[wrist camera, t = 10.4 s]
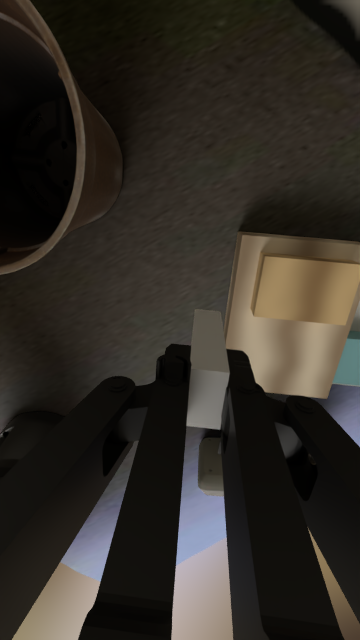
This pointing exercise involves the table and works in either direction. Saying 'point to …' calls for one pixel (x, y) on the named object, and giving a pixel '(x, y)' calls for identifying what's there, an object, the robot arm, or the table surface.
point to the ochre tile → (304, 288)
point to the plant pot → (47, 143)
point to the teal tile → (349, 361)
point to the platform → (285, 335)
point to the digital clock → (210, 467)
